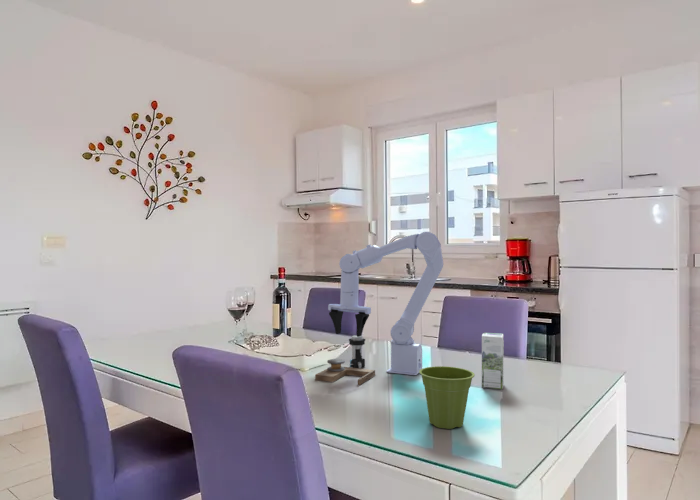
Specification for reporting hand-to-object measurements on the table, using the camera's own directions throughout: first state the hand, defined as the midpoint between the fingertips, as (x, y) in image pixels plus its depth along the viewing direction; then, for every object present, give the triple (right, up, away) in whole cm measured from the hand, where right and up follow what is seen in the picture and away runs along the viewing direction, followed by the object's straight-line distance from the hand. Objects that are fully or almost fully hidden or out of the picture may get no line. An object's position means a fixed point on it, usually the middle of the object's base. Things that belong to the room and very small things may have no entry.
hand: (348, 334), depth 158 cm
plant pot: (+22, -11, -50) cm, 55 cm away
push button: (+2, -11, +1) cm, 11 cm away
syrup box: (+40, -11, -21) cm, 46 cm away
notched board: (-1, -11, -11) cm, 15 cm away
